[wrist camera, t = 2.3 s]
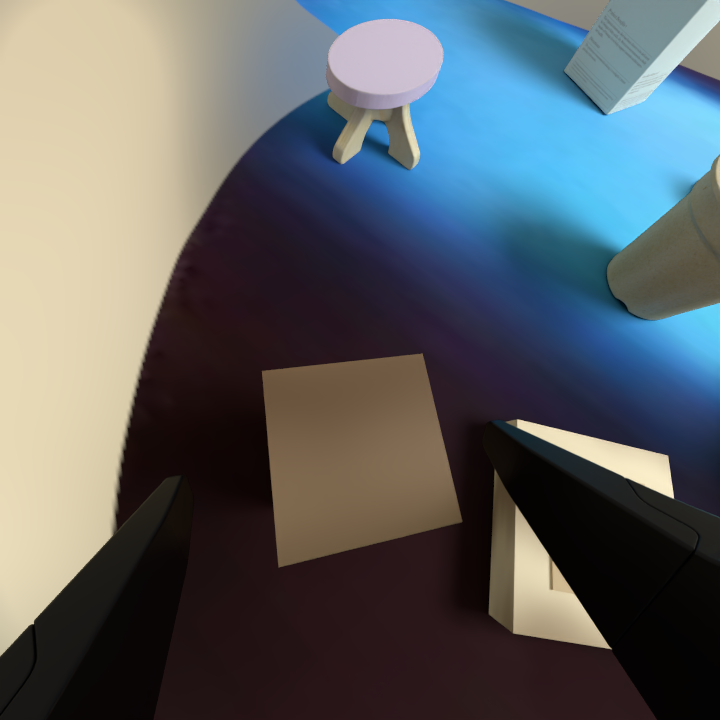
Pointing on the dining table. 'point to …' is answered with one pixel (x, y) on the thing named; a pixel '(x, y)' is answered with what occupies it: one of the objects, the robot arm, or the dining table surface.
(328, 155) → the dining table surface
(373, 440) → the walnut block
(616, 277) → the flower pot
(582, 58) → the supplement box
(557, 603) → the plinth
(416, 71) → the toy table
